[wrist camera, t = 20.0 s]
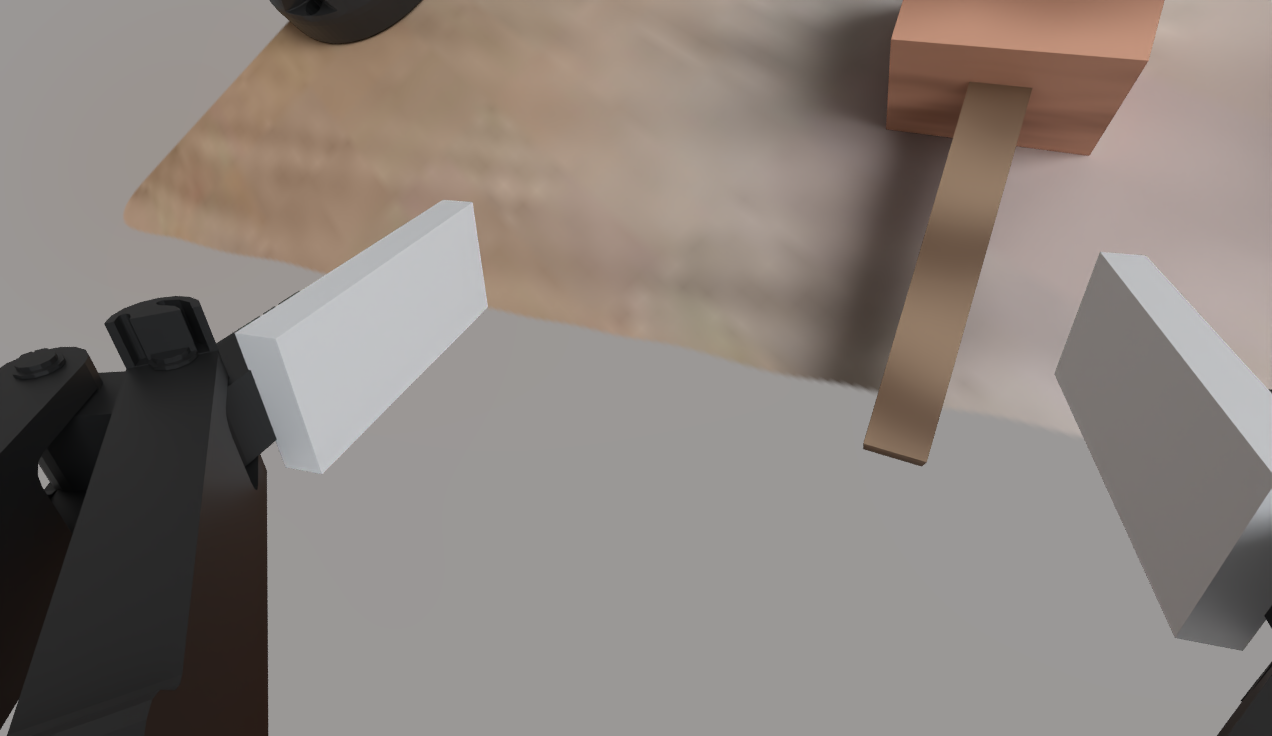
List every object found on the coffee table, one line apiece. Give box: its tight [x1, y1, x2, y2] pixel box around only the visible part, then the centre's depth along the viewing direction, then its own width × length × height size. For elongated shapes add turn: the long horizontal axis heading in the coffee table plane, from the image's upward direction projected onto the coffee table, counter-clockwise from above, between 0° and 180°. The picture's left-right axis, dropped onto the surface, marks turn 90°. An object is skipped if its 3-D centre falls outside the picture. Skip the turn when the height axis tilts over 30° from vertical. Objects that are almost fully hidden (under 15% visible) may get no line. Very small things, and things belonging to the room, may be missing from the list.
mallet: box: [863, 0, 1164, 466], centre depth 29 cm, size 23×9×7 cm, turn 161°
